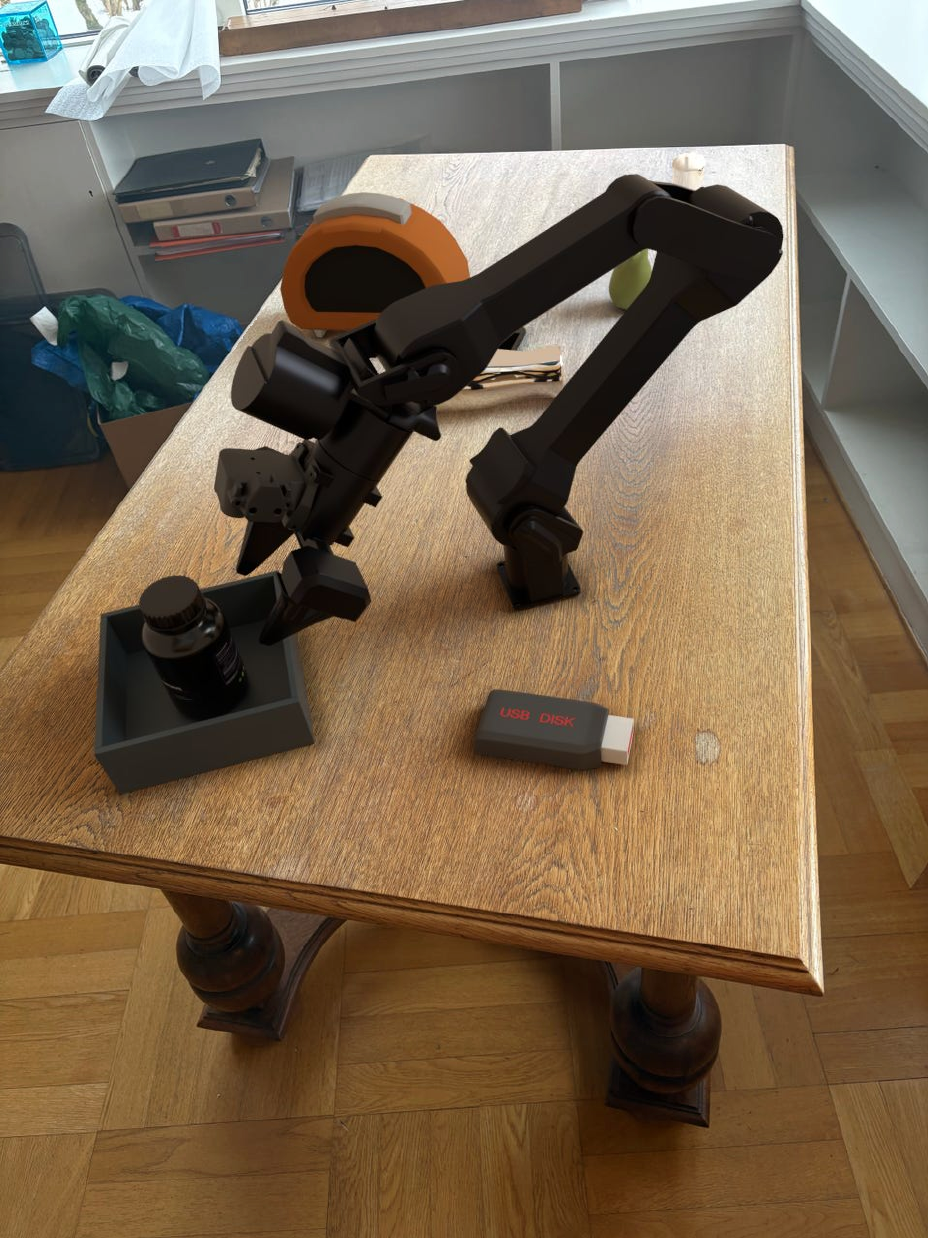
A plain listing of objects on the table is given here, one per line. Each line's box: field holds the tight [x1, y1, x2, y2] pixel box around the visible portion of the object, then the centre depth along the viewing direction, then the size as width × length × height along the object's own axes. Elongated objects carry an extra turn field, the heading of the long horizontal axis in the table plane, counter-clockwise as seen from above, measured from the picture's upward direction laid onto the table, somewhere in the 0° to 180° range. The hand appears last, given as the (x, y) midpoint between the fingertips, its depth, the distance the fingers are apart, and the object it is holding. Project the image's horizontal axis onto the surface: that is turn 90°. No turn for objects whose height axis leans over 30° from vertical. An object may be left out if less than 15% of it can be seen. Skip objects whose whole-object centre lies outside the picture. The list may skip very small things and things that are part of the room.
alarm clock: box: [279, 191, 471, 338], centre depth 121 cm, size 23×9×17 cm, turn 76°
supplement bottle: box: [138, 574, 249, 719], centre depth 79 cm, size 7×7×12 cm
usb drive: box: [473, 688, 635, 771], centre depth 75 cm, size 5×12×3 cm, turn 74°
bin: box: [93, 569, 316, 795], centre depth 81 cm, size 16×16×6 cm
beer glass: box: [436, 343, 564, 413], centre depth 108 cm, size 7×7×15 cm
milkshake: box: [671, 151, 706, 190], centre depth 134 cm, size 4×5×10 cm
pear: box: [608, 249, 653, 311], centre depth 119 cm, size 6×5×10 cm
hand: (251, 607), depth 79 cm, fingers open, 9 cm apart
